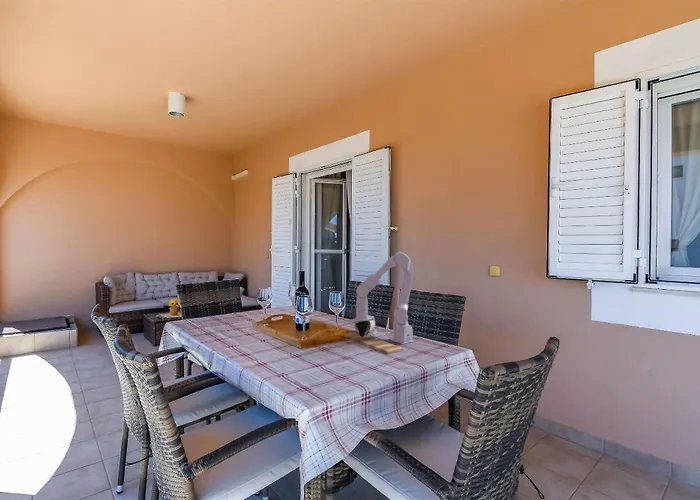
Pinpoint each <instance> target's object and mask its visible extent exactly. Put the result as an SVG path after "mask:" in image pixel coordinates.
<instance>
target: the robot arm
mask: <svg viewBox="0 0 700 500" xmlns="http://www.w3.org/2000/svg"><path fill="white" fill-rule="evenodd" d="M397 265H398V266H399V267H400V268H401V270H402V271H403V277H402V283H401V288H400V291H399V297H398V303H397V305H396V308H395V309H394V311H393V316H394V320H393V325H392V327H393V328H392V329H393V330H392V331H393V332H392V333H393V334H392V335H393V336H392V337H391V338H389V340H390V341H392V342H395V343H398V344H401V345H405V344H408V343H413V342H414V340H413V338H414V337H413V336H414V335H413V333H414V329H413V327H412V325H410V324H409V321H408V320H409V316H408V310H409V309H408V308H409V307H408V306H409V305H408V304H409V300H410V296H411V290H412V284H413V278H414V273H415V268H414V265H413V263H412V261H411V258H410V257H409V256H408V255H407V254H406V253H404V252H403V251H398V252H396V253H394V255H392V256H391V257H390V258H389V259H387V260H386V262H384V263H383V265H382V266H380V268H379V269H378V270H376V272H375V273H371V274H370V275H369V274H368V275H367V276H366V277H367V278H366V279H364V280H363V281H362V282H360V285H358V286H357V287H356V299H355V300H356V303H355V304H356V311H355V312H356V316H355V318H352V319H351V318H350V319H349V321H348V323H349V324H350V325H355V324H356V326H357V328H358V331H359V335H360V336H361V337H364V335H366V334H365V332H366V329H367V327H368V325H369V322H367V321H371V320H375V316H373V315H369V304H368V303H369V301H368V295H369V292H371V291H372V290H373V289H374V288H375V287H376V286H377V285H378V284H379V283H380V278H382V276H384V275H385V274H386V273H387V272H388V271H389V270H390V269H391V268H394V267H397ZM368 315H369V316H368Z"/></svg>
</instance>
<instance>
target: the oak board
mask: <svg viewBox="0 0 700 500" xmlns="http://www.w3.org/2000/svg"><path fill="white" fill-rule="evenodd" d="M373 337H374V336H373ZM359 344H360V345H363V346H366V347H368V348H370V349H374V350H376V351H379V352H380V353H384V354H385V355H386V354H387V355H391V354H395V353H399V352H402V351H403V350H404V349H403V347H401V346H398V345H395V344H392V343H390V342H387V341H385V340H381V339H379V338H376V337H374V338H369V339H364V340H360V343H359Z"/></svg>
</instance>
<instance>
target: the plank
mask: <svg viewBox="0 0 700 500" xmlns="http://www.w3.org/2000/svg"><path fill="white" fill-rule="evenodd" d="M349 332H350V334H349V335H347V336H346V338H345V339H348V340H350V341H353V342H355V343H358V344H360V340H364V339H369V338H374V336H370V335H368V334H365V335H364V337H361V336H360V335H359V333H358V332H357V331H356V330H353V331H349Z"/></svg>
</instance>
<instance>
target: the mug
mask: <svg viewBox="0 0 700 500" xmlns="http://www.w3.org/2000/svg"><path fill="white" fill-rule="evenodd" d="M368 316H370V314H368ZM367 322H369V325H368V327H367V329H366V332H365V335H367V333H370V334H371V335H372V337H374V336H375V335H376V333H378V332H377V330H376V328H375V327H376V321H375V319H374V320H371V321H367ZM354 329H355V331H356V332H358V333H359V331H358V328H357V326H356V324H355V323H354Z"/></svg>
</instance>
